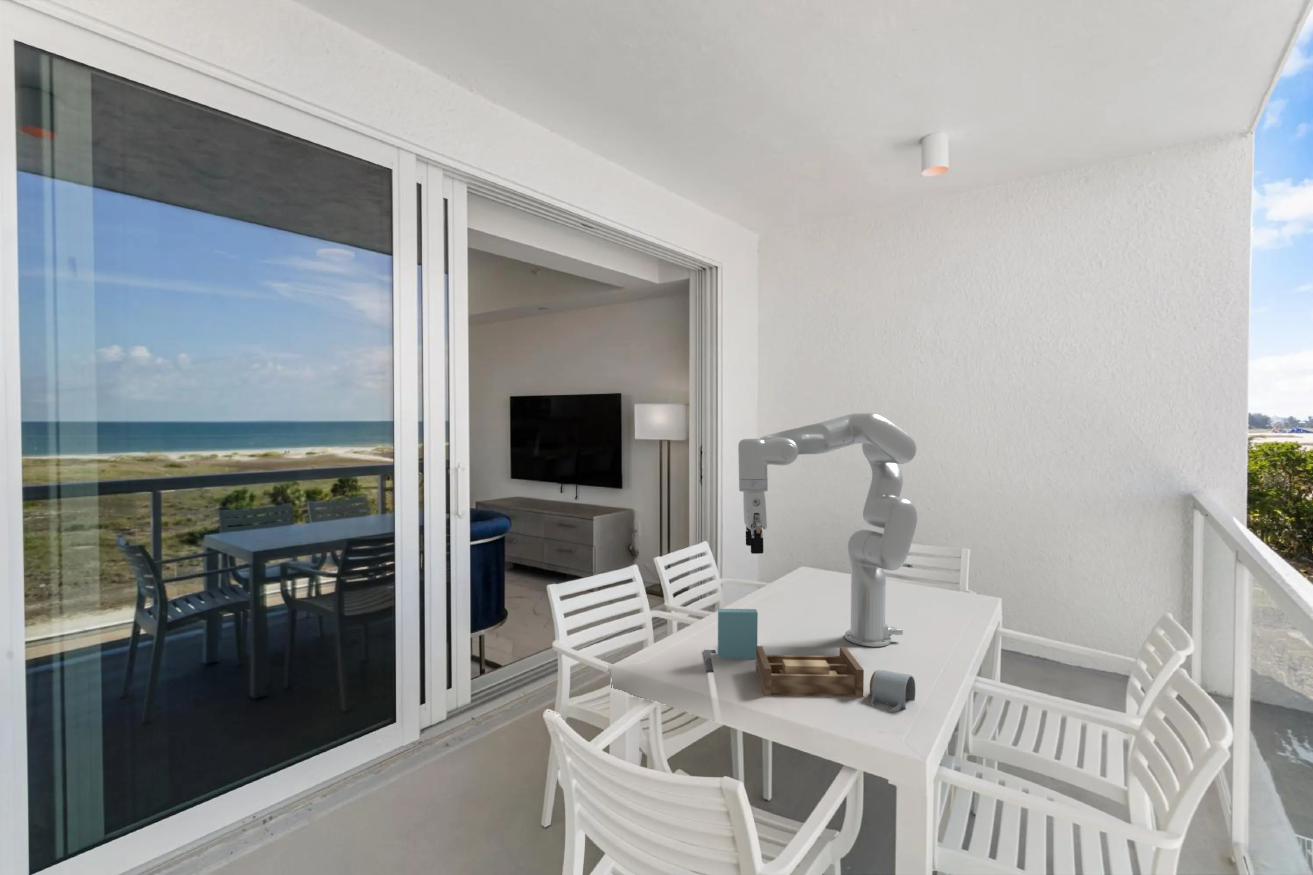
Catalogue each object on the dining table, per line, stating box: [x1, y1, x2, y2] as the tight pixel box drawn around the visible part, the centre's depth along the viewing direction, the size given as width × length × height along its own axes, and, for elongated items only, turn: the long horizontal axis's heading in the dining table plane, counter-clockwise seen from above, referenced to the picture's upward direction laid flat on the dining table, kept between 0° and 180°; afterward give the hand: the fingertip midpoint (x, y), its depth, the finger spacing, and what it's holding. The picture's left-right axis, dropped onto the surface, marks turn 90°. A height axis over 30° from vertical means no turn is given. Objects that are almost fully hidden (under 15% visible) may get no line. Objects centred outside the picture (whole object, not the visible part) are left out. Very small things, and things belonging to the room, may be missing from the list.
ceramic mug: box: [869, 669, 916, 713], centre depth 135 cm, size 11×8×8 cm
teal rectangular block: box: [717, 608, 759, 660], centre depth 161 cm, size 10×3×13 cm, turn 88°
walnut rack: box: [755, 645, 865, 698], centre depth 145 cm, size 22×14×8 cm, turn 89°
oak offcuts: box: [779, 660, 837, 674], centre depth 142 cm, size 13×4×6 cm, turn 89°
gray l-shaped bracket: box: [703, 649, 717, 673], centre depth 161 cm, size 16×14×1 cm
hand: (754, 549), depth 164 cm, fingers open, 9 cm apart
